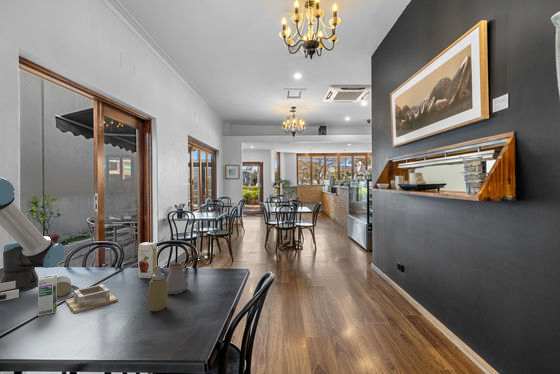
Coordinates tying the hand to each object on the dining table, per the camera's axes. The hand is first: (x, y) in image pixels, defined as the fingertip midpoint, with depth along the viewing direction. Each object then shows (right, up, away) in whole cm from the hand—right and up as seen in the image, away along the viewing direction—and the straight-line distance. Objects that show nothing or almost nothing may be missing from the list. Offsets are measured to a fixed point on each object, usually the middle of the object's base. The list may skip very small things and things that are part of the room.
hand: (17, 288), depth 106 cm
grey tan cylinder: (-2, -12, +26) cm, 29 cm away
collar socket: (+17, -12, +17) cm, 27 cm away
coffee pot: (+51, -13, +34) cm, 63 cm away
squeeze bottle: (+49, -13, +11) cm, 52 cm away
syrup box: (+6, -12, +7) cm, 15 cm away
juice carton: (+25, -12, +52) cm, 59 cm away
